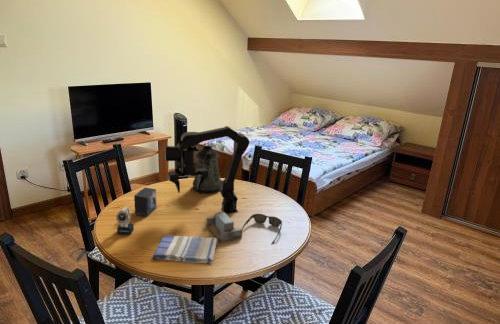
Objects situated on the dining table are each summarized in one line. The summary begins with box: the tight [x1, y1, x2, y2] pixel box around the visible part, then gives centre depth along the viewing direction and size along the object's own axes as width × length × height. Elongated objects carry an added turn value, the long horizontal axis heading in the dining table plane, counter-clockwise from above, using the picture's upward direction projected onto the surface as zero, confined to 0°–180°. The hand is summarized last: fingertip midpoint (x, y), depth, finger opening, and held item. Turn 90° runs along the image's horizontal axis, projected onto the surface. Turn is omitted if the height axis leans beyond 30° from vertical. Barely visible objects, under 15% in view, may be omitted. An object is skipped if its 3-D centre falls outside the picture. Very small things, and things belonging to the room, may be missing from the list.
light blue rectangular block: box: [214, 211, 235, 233], centre depth 152 cm, size 4×11×6 cm, turn 28°
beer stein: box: [192, 145, 221, 195], centre depth 194 cm, size 16×19×25 cm
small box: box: [133, 187, 157, 218], centre depth 166 cm, size 11×6×10 cm, turn 168°
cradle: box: [206, 213, 243, 244], centre depth 153 cm, size 10×16×4 cm, turn 28°
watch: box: [115, 207, 135, 236], centre depth 147 cm, size 6×8×11 cm
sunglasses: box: [241, 213, 283, 245], centre depth 154 cm, size 16×17×5 cm
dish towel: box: [152, 234, 218, 264], centre depth 138 cm, size 17×24×3 cm
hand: (188, 191), depth 164 cm, fingers open, 9 cm apart
